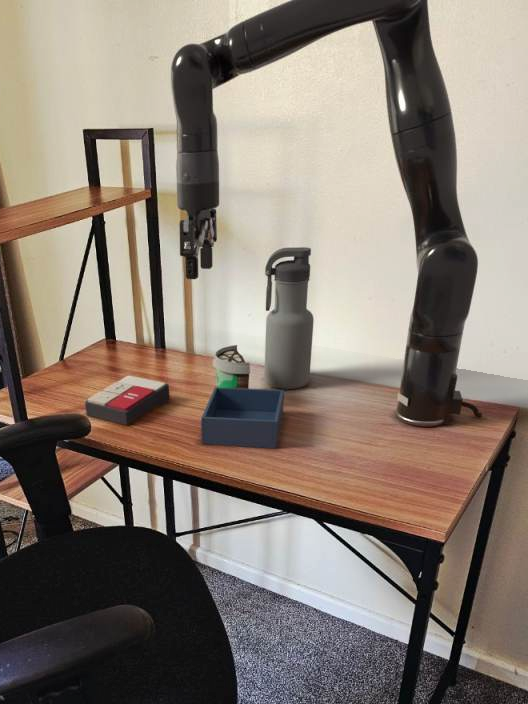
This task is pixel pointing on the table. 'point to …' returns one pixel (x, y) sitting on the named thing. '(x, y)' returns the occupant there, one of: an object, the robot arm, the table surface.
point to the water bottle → (288, 320)
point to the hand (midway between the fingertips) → (199, 273)
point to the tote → (243, 417)
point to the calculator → (127, 399)
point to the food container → (231, 368)
